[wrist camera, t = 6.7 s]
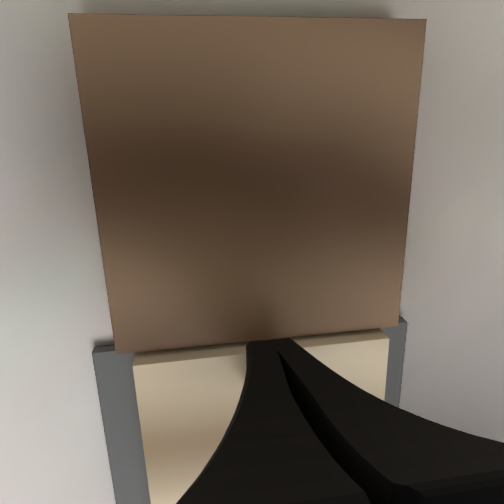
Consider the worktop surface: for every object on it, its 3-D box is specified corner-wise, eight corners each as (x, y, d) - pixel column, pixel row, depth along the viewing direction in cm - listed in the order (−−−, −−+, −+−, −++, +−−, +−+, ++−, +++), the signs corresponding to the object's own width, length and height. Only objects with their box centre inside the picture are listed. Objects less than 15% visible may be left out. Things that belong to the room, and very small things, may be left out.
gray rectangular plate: (383, 503, 17) (388, 511, 17) (126, 545, 16) (124, 555, 15) (401, 317, 15) (407, 322, 14) (94, 346, 13) (92, 353, 13)
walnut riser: (377, 307, 14) (398, 326, 13) (123, 330, 13) (116, 354, 12) (398, 32, 12) (426, 19, 10) (83, 29, 11) (67, 13, 9)
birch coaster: (357, 492, 16) (373, 526, 15) (161, 524, 15) (158, 564, 14) (368, 317, 14) (389, 338, 13) (138, 340, 13) (132, 365, 12)
